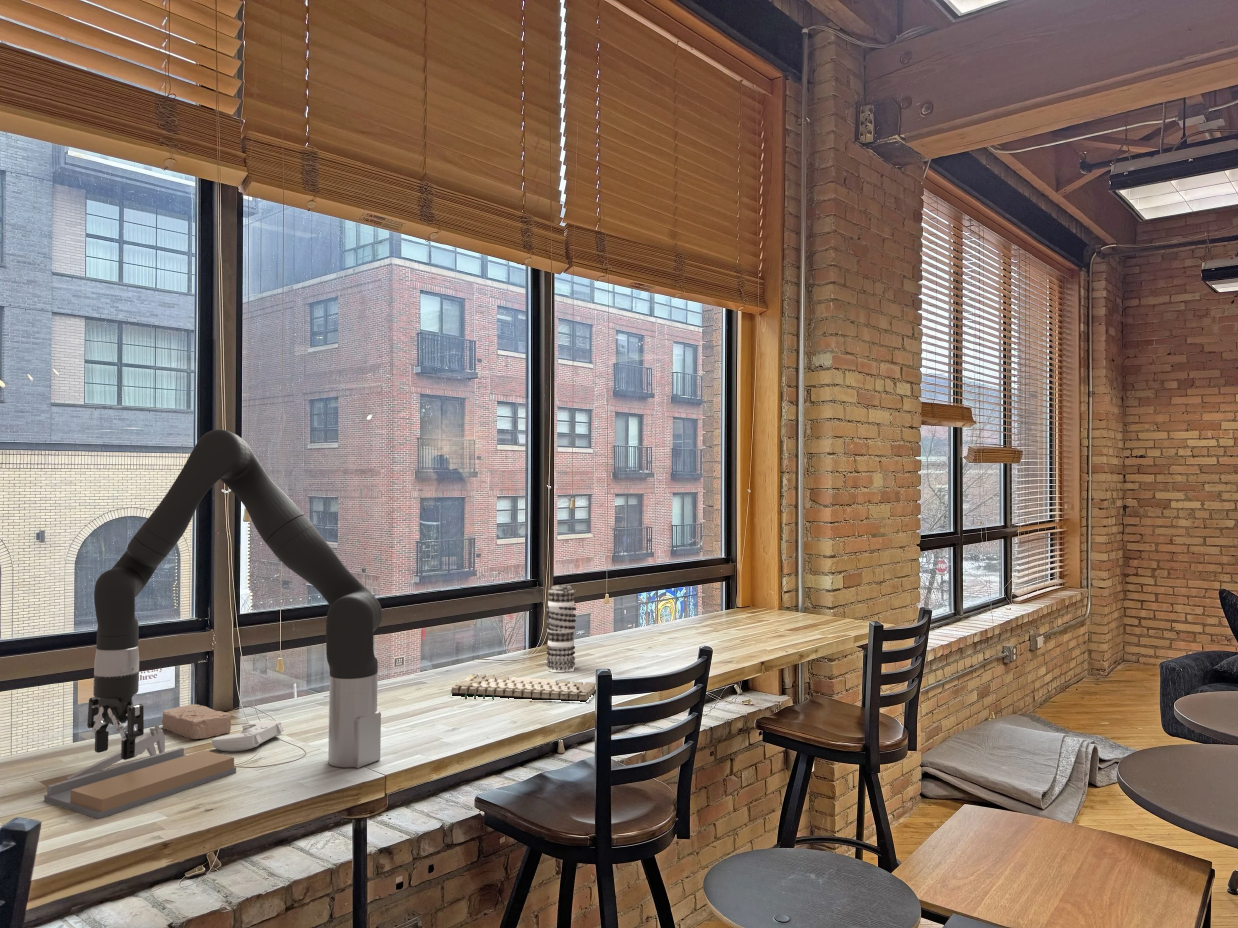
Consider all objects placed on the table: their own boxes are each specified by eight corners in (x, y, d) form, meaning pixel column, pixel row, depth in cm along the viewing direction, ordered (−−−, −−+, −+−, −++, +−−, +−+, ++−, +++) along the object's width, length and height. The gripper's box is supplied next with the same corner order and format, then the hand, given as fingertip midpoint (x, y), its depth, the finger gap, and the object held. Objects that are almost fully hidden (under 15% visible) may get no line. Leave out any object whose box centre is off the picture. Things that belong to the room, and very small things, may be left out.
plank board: (236, 772, 163) (236, 756, 163) (98, 818, 140) (99, 800, 141) (182, 759, 171) (183, 744, 171) (44, 801, 148) (44, 783, 148)
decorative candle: (579, 667, 259) (580, 584, 260) (571, 673, 250) (571, 588, 251) (550, 665, 262) (551, 583, 262) (541, 671, 253) (542, 587, 253)
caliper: (161, 754, 175) (161, 723, 175) (164, 755, 174) (165, 723, 174) (59, 787, 156) (59, 752, 156) (63, 788, 155) (63, 753, 155)
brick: (159, 729, 193) (160, 708, 193) (196, 721, 199) (197, 701, 199) (194, 743, 183) (195, 721, 183) (232, 734, 189) (233, 713, 189)
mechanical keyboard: (600, 689, 234) (600, 677, 234) (588, 708, 215) (588, 694, 215) (467, 684, 240) (467, 672, 240) (443, 702, 221) (443, 688, 221)
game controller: (248, 718, 190) (288, 711, 188) (251, 738, 190) (292, 731, 188) (205, 737, 176) (248, 729, 174) (208, 758, 176) (252, 751, 174)
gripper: (158, 671, 166) (155, 755, 165) (114, 662, 172) (111, 744, 172) (119, 678, 159) (117, 766, 159) (75, 669, 166) (72, 754, 165)
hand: (114, 754), depth 165 cm, fingers open, 8 cm apart
